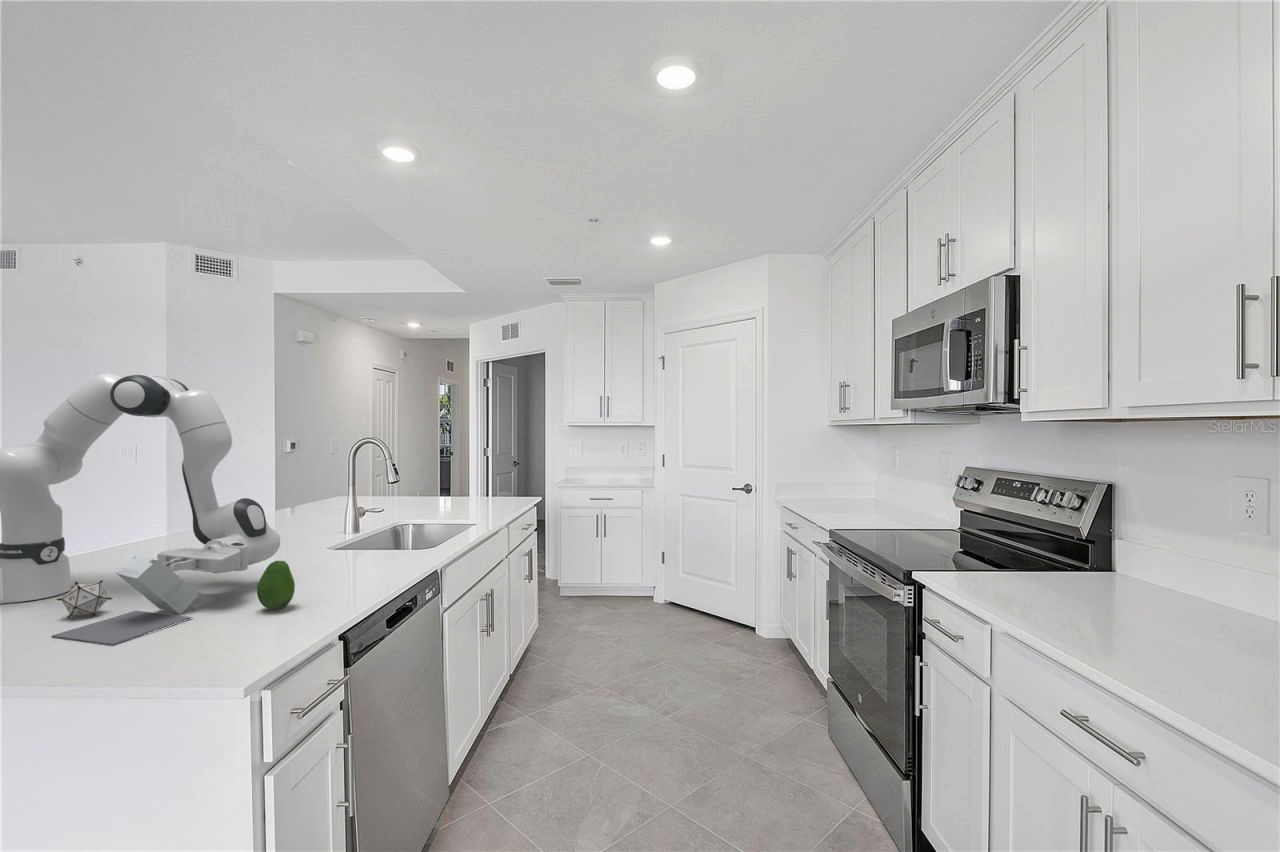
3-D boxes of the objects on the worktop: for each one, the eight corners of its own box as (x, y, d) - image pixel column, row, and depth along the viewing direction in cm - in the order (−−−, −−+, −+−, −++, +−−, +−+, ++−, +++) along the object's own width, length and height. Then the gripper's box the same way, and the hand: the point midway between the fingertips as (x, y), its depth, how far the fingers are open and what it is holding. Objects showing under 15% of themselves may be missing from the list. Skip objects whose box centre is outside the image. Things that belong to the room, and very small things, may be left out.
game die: (85, 633, 139) (69, 607, 133) (58, 617, 140) (42, 591, 134) (125, 605, 146) (112, 579, 140) (99, 590, 147) (85, 564, 141)
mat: (51, 637, 126) (51, 635, 126) (135, 612, 143) (135, 610, 143) (113, 645, 123) (113, 643, 123) (192, 619, 139) (192, 617, 139)
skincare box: (159, 609, 145) (111, 574, 135) (180, 588, 149) (135, 552, 139) (181, 615, 142) (134, 579, 132) (202, 593, 146) (157, 556, 136)
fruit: (250, 615, 142) (250, 565, 142) (265, 604, 150) (266, 557, 150) (286, 614, 144) (286, 564, 143) (299, 603, 151) (300, 556, 151)
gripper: (189, 540, 158) (134, 551, 144) (252, 545, 153) (201, 557, 139) (189, 564, 158) (133, 577, 144) (252, 570, 153) (201, 584, 140)
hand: (167, 567), depth 142 cm, fingers closed
